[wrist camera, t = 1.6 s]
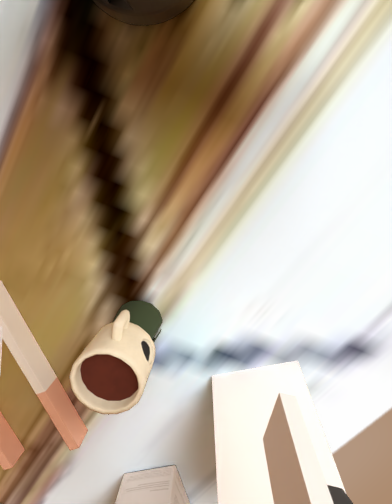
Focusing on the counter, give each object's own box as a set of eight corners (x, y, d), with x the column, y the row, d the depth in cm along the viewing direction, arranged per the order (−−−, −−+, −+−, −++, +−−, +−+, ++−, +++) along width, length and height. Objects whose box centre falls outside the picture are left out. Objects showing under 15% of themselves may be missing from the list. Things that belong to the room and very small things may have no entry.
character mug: (161, 358, 41) (137, 437, 29) (111, 350, 41) (66, 424, 29) (171, 286, 39) (150, 338, 26) (118, 277, 39) (71, 324, 26)
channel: (-75, 311, 42) (-96, 321, 39) (1, 280, 40) (-16, 288, 37) (17, 452, 47) (4, 470, 44) (87, 430, 45) (79, 447, 42)
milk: (229, 441, 44) (248, 793, 19) (211, 375, 41) (206, 679, 16) (311, 429, 43) (449, 792, 17) (297, 360, 40) (437, 668, 15)
